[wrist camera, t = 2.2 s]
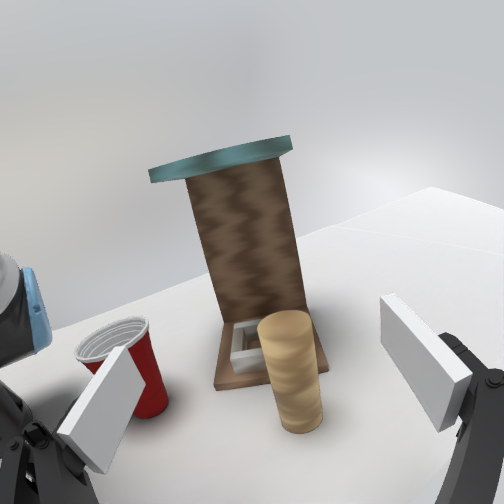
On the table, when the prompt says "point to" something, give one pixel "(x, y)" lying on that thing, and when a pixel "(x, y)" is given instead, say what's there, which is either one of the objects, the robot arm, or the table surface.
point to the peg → (292, 368)
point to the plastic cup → (139, 346)
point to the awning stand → (245, 248)
